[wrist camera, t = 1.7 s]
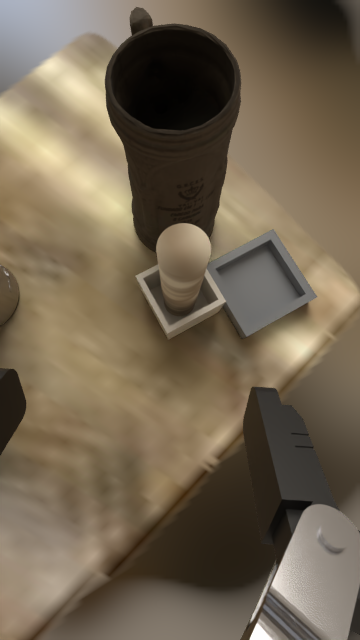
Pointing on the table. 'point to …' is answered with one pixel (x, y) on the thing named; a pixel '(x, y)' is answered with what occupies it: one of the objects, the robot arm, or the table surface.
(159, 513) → the table surface
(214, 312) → the light grey square box
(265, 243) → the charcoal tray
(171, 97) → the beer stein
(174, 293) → the birch pin
